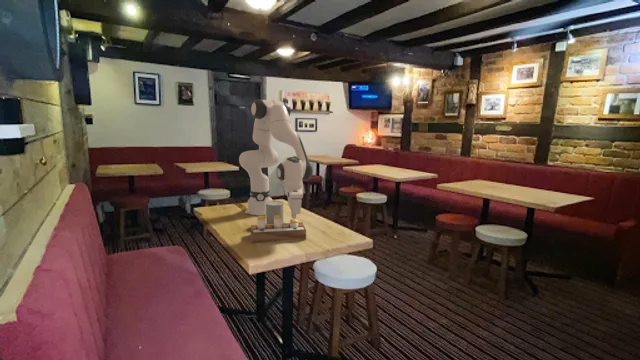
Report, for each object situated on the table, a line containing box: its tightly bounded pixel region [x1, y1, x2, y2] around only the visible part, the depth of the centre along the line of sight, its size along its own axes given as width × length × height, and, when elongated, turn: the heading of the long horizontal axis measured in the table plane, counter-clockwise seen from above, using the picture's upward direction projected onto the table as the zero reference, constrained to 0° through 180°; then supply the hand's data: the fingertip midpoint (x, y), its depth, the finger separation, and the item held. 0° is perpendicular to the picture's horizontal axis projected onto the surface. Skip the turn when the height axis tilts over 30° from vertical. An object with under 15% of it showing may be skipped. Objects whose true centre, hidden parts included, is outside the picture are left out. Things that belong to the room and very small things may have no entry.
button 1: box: [256, 215, 266, 230], centre depth 163 cm, size 4×4×8 cm
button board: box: [250, 222, 307, 244], centre depth 165 cm, size 12×26×5 cm, turn 102°
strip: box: [253, 227, 304, 233], centre depth 160 cm, size 3×24×1 cm, turn 102°
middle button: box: [274, 215, 282, 229], centre depth 164 cm, size 4×4×8 cm
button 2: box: [289, 218, 299, 228], centre depth 166 cm, size 4×4×8 cm
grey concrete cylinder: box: [265, 200, 284, 224], centre depth 184 cm, size 10×10×12 cm
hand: (293, 218), depth 166 cm, fingers closed
